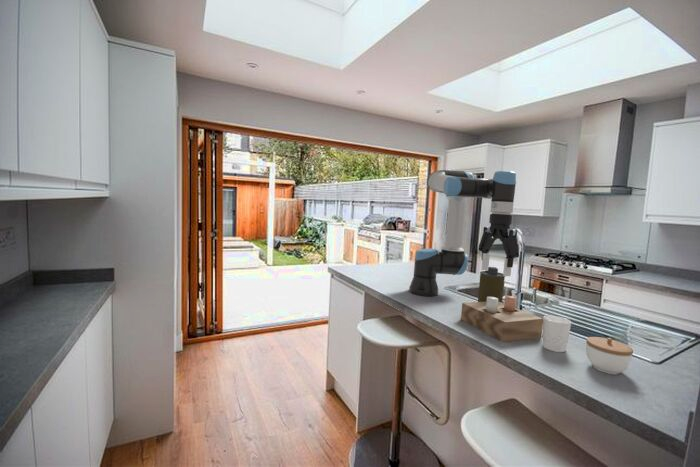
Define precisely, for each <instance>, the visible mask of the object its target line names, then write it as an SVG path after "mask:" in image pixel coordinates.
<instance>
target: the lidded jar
mask: <svg viewBox="0 0 700 467" xmlns="http://www.w3.org/2000/svg"><path fill="white" fill-rule="evenodd" d="M585 341H586V345H585V346H586V347H585V351H586V356H587V359H588V361H589V362H590V364H591V365H592V366H593V367H592V368H594V369H595V370H596V371H597V370H598V371H599V372H602V373H605V374H608V375H619V374H620V373H623V372H624V371H626V370H627V369H628V368H629V366H630V364H631V361H632V357H633V353H634V349H633V348H632V347H631V346H629V345H628V344H626V343H624V342H620V341H618V340H614V339H612V338H610V337H607V338H606V337H601V336H588V337H587V338H586V340H585Z"/></svg>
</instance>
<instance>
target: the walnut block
mask: <svg viewBox="0 0 700 467" xmlns="http://www.w3.org/2000/svg"><path fill="white" fill-rule="evenodd" d="M460 320H461V321H462V322H464V323H466V324H468V325H470V326H471V327H474V328H476V329H477V330H480V331H482V332H483V333H486V334H488V335H489V336H492V337H493V338H495V339H497V340H498V341H500V342H502V343H504V342H505V343H506V342H512V341H514V342H515V341H522V340H529V339H531V340H532V339H540V338H539V337H541V338H542V336H543V317H540V316H538V315H535V314H532V313H530V312H527V311H524V310H522V309H519V308H517V307H516V308H515V312H508V311H506V310H504V303H503V302H502V303H501V302H499V301H498V308H497V313H493V314H491V313H489V312H486V302H478V301H474V302H470V301H469V302H462V304H461V314H460Z"/></svg>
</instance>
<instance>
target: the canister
mask: <svg viewBox="0 0 700 467" xmlns="http://www.w3.org/2000/svg"><path fill="white" fill-rule="evenodd" d="M498 271H499V268H497V267H495V266H489V268H488V270H481V271H480V274H479V275H480V276H479V283H478V294H477V295H478V296H477V302H486V301H487V297H495V298H498V301H499V302H501V303H503V300H504V298H503V297H504V290H505V288H504V286H505V277H506V276H503V272H498Z"/></svg>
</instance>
